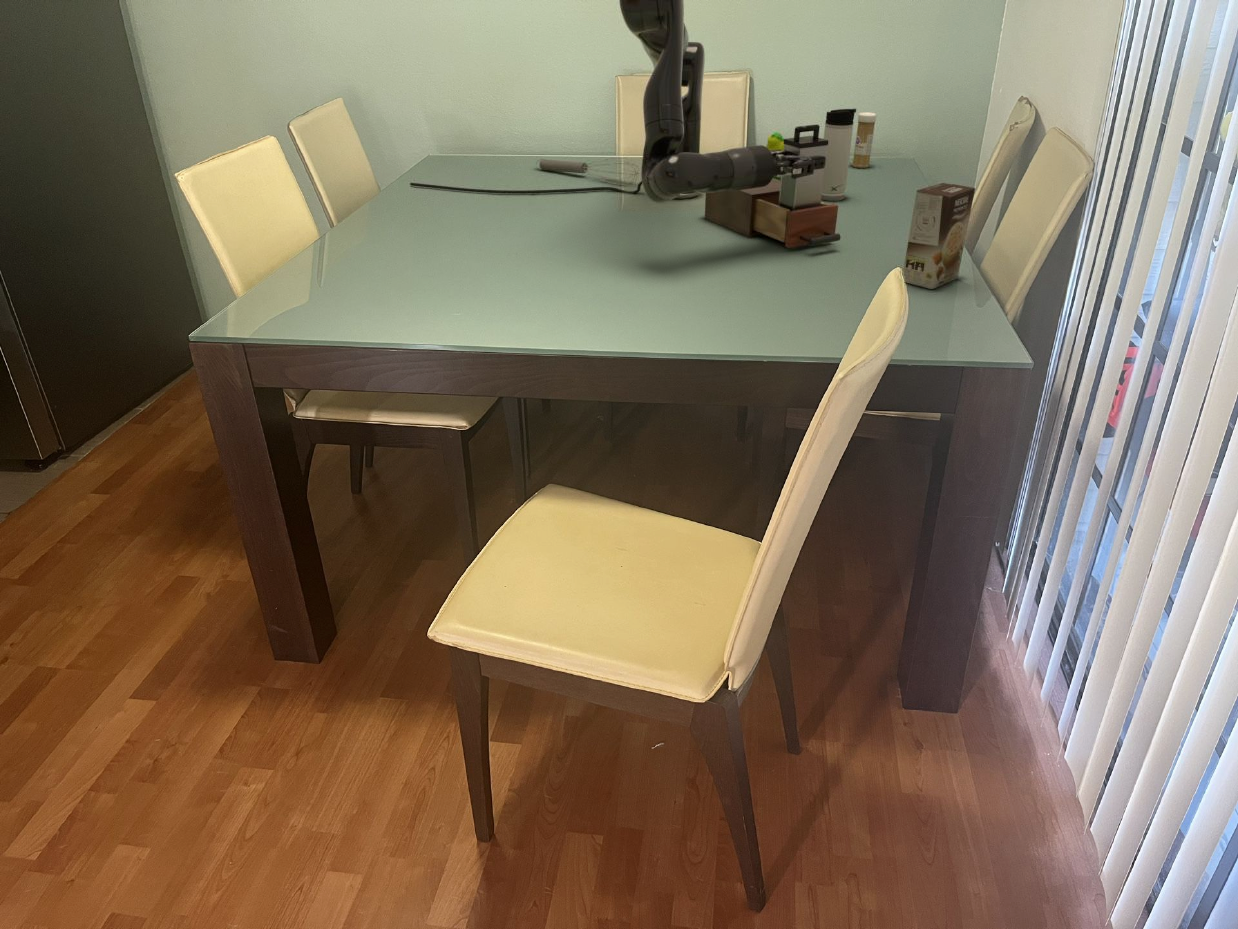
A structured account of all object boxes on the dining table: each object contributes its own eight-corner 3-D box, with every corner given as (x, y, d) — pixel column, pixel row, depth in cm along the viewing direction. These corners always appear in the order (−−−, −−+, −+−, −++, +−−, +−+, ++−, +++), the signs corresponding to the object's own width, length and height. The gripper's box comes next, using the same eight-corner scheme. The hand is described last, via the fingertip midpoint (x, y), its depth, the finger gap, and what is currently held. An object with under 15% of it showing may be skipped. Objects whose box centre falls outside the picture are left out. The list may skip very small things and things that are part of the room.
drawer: (848, 244, 177) (852, 209, 173) (802, 253, 172) (805, 217, 168) (786, 221, 191) (789, 188, 188) (742, 228, 187) (744, 195, 183)
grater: (819, 223, 179) (830, 126, 170) (792, 228, 176) (802, 129, 167) (802, 217, 183) (812, 121, 174) (776, 221, 180) (784, 124, 171)
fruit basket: (803, 176, 231) (808, 129, 226) (790, 182, 225) (794, 135, 219) (763, 170, 237) (766, 125, 231) (748, 177, 230) (751, 131, 225)
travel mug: (838, 202, 208) (849, 111, 198) (812, 198, 211) (822, 108, 201) (850, 197, 212) (861, 107, 202) (824, 193, 216) (834, 104, 205)
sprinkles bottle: (848, 166, 241) (854, 113, 234) (859, 163, 243) (866, 111, 237) (861, 169, 238) (868, 115, 231) (873, 166, 240) (880, 113, 234)
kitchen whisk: (543, 166, 242) (542, 142, 239) (644, 185, 224) (644, 158, 221) (528, 170, 238) (527, 145, 235) (629, 189, 220) (629, 163, 217)
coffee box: (933, 290, 156) (950, 196, 148) (900, 281, 160) (914, 190, 152) (958, 278, 162) (976, 187, 154) (926, 270, 166) (941, 181, 158)
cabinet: (797, 228, 190) (801, 187, 185) (749, 237, 184) (752, 194, 180) (751, 210, 202) (754, 171, 198) (704, 218, 197) (706, 178, 193)
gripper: (768, 155, 160) (841, 145, 167) (722, 140, 171) (793, 132, 178) (764, 197, 164) (836, 186, 171) (720, 181, 175) (789, 171, 182)
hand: (814, 159), depth 175 cm, fingers closed on grater, 5 cm apart
